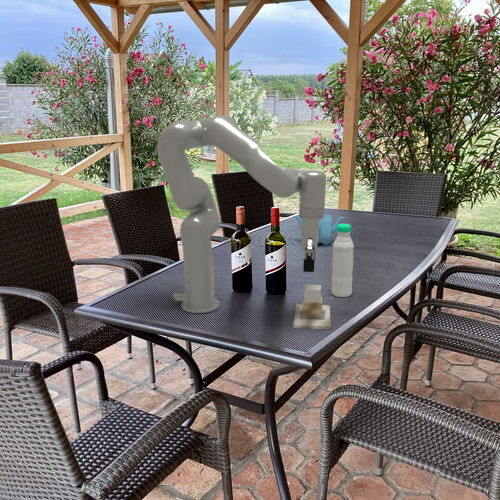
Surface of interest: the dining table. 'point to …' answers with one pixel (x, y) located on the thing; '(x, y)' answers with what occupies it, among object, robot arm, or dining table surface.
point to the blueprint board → (312, 319)
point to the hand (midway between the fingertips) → (308, 266)
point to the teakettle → (324, 228)
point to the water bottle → (342, 262)
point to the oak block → (312, 310)
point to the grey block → (312, 293)
